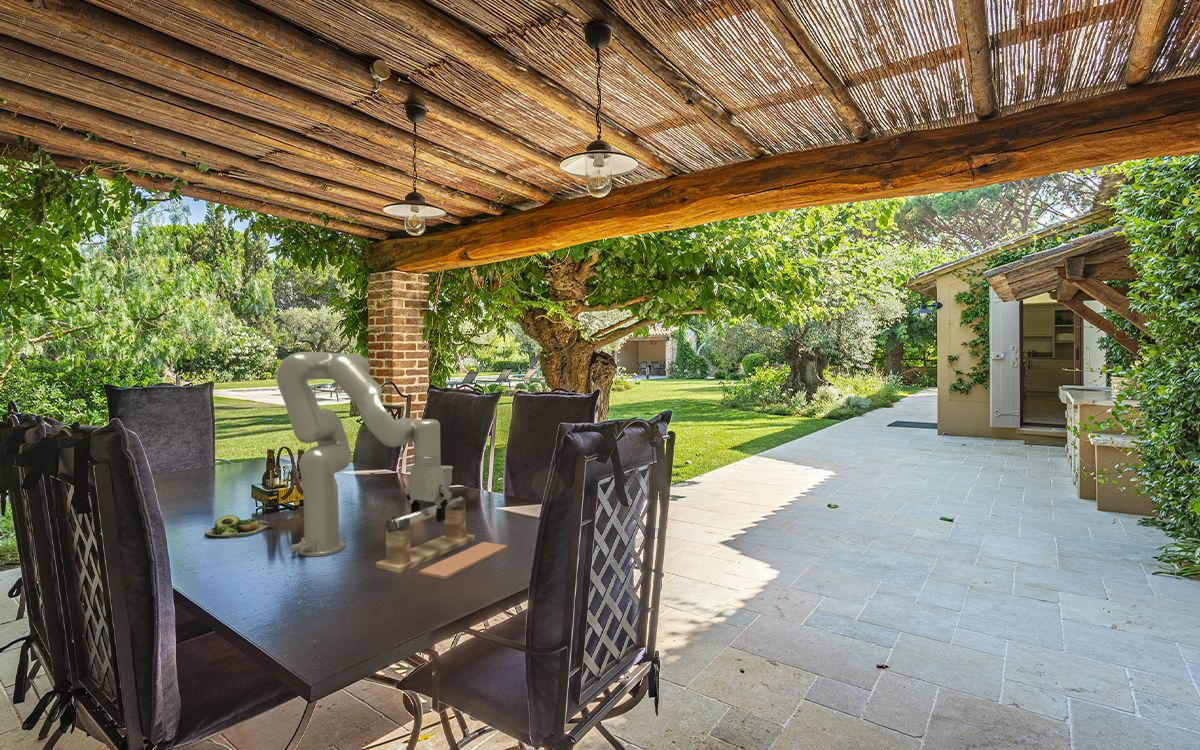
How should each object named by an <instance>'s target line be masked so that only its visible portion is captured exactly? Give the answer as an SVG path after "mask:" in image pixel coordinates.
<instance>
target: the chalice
mask: <svg viewBox="0 0 1200 750" xmlns="http://www.w3.org/2000/svg"><path fill="white" fill-rule="evenodd" d="M441 466H442V470H443V475H444V485H445V488H446V489H447V490H448V491H450V487H451V485H452V481H453V469H454V466H453V465H441ZM444 499H445V495H444Z"/></svg>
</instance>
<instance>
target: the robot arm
mask: <svg viewBox="0 0 1200 750" xmlns="http://www.w3.org/2000/svg"><path fill="white" fill-rule="evenodd" d="M370 366H371V365H370V363H369V361H368V359H367V358H366V357H364V356H362V355H361V354H357V353H341V352H339V353H338V352H326V351H298V352H294V353H292V354H290V355H287V356H286V357H285V358H284V359H283V360H282V361H281V363H280V364H279V365H278V367H277V371H276V383H277V386H278V389H279V392H280V395H281V397H282V399H283V402H284V405H285V409H286V412H287V415H288V418H289V421H290V424H291V427H292V430H293V433H294V436H295V438H296V439H297V440H298V441H299V442H301V443H303V444H311V443H315V442H316V443H317V445H316V446H313V447H310V448H309V449H307V450H306V451H304V452H303V454H302V455H301V457H300V459H299V462H298V464H299V465H298V466H299V472H300V477H301V483H302V492H303V493H302V495H303V498H302V499H303V533H304V535H303V537H301V538H300V541H299V542H298V543H294V544H292V545H290V546H289V548H288V549H289V551H290V552H291V553H293V552H297V551H298V553H299V554H300V555H301V556H304V557H322V556H328V555H332V554H333V555H334V554H336V553H338V552H341V551H342V550H343V549H345V546H346V545H345V541H343V540H340V525H339V524H340V521H339V519H340V515H339V513H340V512H339V508H340V507H339V487H338V483H337V480H336V477H335V474H336V473H339V472H341V471H344V470H345V469H346V468H347V467H348V466H349V465H350V463H351V460H352V450H351V447H350V444H349V440H348V438H347V435H346V432H345V429H344V425H343V423H342V420H341V418H340V417H339V416H338V414H337V413H336V412H334V411H333V410H331V409H327V408H320V406H319V403H318V400H317V396H316V394H315V393H314V391H313V389H312V388H311V387H310V385H309V384H308V381H314V380H333V381H334V382H335V383H336V384H337V385H338V386H339V387H340V389H341V390H342V391H343V392H344V393H346V395H347V396H348V397H349V398H350V399H351V401H353V402H354V404H355V405H356V406H357V408H358V411H359V414H360V416H361V419H362V421H363V423H364V425H365V426H366V428H368V430H369V431H370V432H371V433H372V434H373V435H374V436H375V438H376V439H377V440H378V441H380V442H381V444H383V445H385V446H387V447H391V448H396V447H399V446H403V445H406V444H410V443H413V457H412V461H413V465H412V466H411V471H410V475H409V485H408V486H407V487H404V488H403V489H404V492H405V495H406V498H407V500H408V503H409V505H410V514H411V513H414V512H417V511H420V510H421V502H427V503H428V502H429V503H433V502H434V504H435V505H437V507H438V508H436V516H435V520H436V522H437V523H441V522H442V521H444V520H445V507H446V506H447V504H448V503H449V502H450V499H451V497H452V496H453V493H452V492H451V491H450V490H447V489H446V488H445V485H444V475H443V470H442V466H443V465H441V464H442V463H441V424H440V422H439V420H437V419H435V418H431V419H430V418H427V419H426V418H425V419H415V418H410V417H404V418H398V419H394V418H393V416H392V415H391V414H390V412H388V411H387V410H386V408H385V407H384V405H383V403H382V401H381V396H382V392H383V389H382V387H381V385H380V384H379V383H378V382H377V381H376V380H375V379H374V378H373V376H371V375H370V371H371V367H370ZM444 495H445V499H444ZM420 501H421V502H420Z"/></svg>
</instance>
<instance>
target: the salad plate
mask: <svg viewBox="0 0 1200 750" xmlns="http://www.w3.org/2000/svg"><path fill="white" fill-rule="evenodd" d="M275 525H276V524H275V523H271V522H268V521H266V520H259V519H258V520H257V519H256V518H248V519H246V518H245V519H240V518H239V517H238V516H237V515H231V514H230V515H224V516H221V517H220V518H219V517H218V519H217V520H216V521H214V527H212V528H210V529H208V530H206V531H205V532H204V536H205V537H206V538H208V539H213V538H220V539H231V537H235V538H243V537H242V536H244V537H250V536H253V535H257V534H259V532H260V533H262V532H263V531H264V530H266V529H267V528H269V527H272V526H273V527H274V526H275ZM262 530H263V531H262ZM240 532H244V533H240ZM245 532H247V533H245ZM237 533H238V534H237Z"/></svg>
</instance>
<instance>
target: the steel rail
mask: <svg viewBox="0 0 1200 750" xmlns="http://www.w3.org/2000/svg"><path fill="white" fill-rule="evenodd" d="M461 499H465V497H464V496H460V495H459V496H457V497H455V498H453V500H450V502H449V503H448V504H447V506H446V507H445V512H448V511H451V510H454V509H457V501H458V500H461ZM436 508H438V507H437V505H436V504H435V505H433V506H430V507H427V508H424V509H420V511H417V512H414V513H411V512H410V513H408V514H405V515H402V516H399V517H396V519H389V520H387V521H386V520H385V523H384V528H385V531H386V530H387V532H389V533H392V532H395V531H396V530H397V529H399V520H402V519H405V518H410V526H411V525H413V524H417V523H419V522H422V521H424V520H428V519H430V518H434V517H436Z"/></svg>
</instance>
